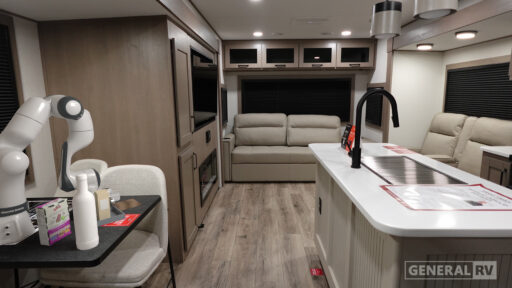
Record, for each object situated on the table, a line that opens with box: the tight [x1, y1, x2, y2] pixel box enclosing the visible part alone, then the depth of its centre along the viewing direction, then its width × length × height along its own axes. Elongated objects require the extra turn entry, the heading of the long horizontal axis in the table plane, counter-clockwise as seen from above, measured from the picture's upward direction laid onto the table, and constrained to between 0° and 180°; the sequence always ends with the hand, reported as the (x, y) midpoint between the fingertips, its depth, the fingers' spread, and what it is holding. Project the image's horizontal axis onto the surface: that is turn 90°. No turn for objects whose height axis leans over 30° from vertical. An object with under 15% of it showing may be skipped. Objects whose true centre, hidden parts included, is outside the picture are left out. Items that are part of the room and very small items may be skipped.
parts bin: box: [97, 205, 126, 228], centre depth 142 cm, size 15×15×3 cm
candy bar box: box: [34, 197, 73, 247], centre depth 121 cm, size 11×5×16 cm, turn 168°
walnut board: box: [110, 198, 143, 212], centre depth 159 cm, size 12×12×1 cm
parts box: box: [94, 188, 111, 220], centre depth 141 cm, size 5×5×14 cm
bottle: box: [71, 174, 100, 251], centre depth 115 cm, size 8×8×30 cm
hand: (102, 204), depth 140 cm, fingers open, 8 cm apart
